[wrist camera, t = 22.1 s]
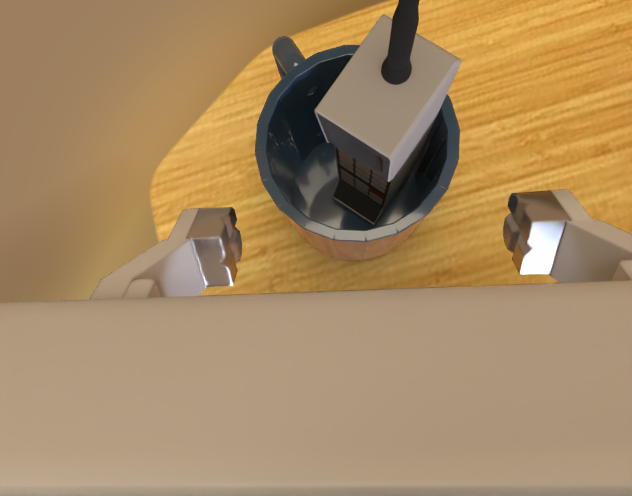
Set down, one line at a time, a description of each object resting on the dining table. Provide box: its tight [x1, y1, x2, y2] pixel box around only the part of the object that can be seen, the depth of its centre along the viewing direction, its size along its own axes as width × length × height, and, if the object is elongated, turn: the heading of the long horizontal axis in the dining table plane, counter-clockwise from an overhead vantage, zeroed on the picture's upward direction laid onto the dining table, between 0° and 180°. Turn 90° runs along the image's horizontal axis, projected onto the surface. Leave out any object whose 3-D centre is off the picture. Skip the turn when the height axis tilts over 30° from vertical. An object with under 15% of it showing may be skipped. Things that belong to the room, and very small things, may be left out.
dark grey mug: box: [255, 36, 460, 261], centre depth 29 cm, size 14×10×12 cm
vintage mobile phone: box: [315, 0, 461, 227], centre depth 22 cm, size 4×5×25 cm
